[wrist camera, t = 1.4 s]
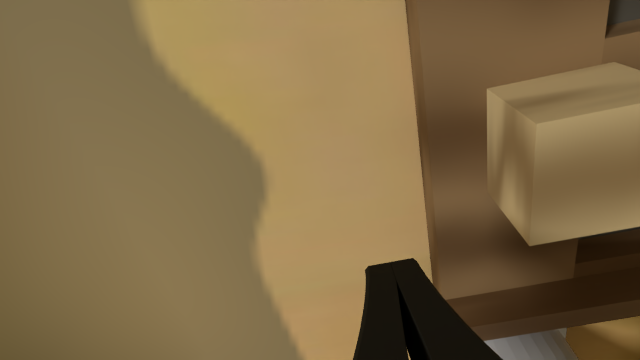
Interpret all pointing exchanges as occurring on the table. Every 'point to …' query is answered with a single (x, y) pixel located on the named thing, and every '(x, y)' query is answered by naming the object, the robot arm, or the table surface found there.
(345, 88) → the table surface
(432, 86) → the trap board
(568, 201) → the maple block
